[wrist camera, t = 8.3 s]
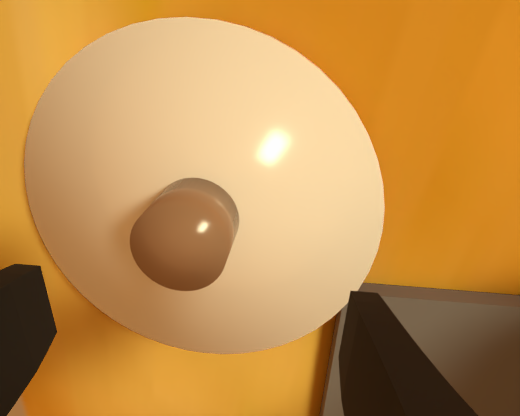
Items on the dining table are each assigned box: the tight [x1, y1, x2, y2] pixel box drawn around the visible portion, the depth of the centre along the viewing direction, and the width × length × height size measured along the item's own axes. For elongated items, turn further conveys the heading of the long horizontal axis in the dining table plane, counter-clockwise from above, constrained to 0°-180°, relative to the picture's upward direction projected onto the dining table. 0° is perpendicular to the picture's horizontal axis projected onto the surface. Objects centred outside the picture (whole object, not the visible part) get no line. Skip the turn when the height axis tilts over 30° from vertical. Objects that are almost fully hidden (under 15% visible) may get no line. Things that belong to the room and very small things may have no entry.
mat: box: [319, 283, 520, 416], centre depth 24 cm, size 15×15×1 cm
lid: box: [24, 17, 385, 354], centre depth 18 cm, size 17×17×4 cm
